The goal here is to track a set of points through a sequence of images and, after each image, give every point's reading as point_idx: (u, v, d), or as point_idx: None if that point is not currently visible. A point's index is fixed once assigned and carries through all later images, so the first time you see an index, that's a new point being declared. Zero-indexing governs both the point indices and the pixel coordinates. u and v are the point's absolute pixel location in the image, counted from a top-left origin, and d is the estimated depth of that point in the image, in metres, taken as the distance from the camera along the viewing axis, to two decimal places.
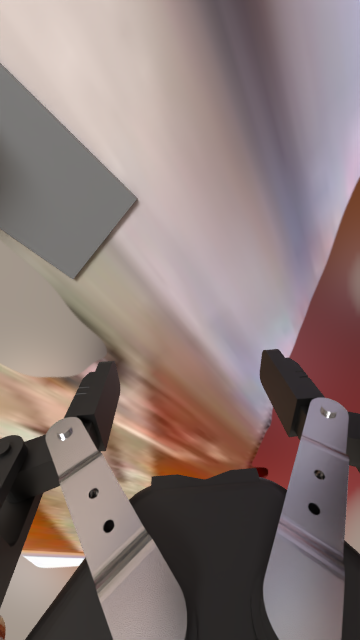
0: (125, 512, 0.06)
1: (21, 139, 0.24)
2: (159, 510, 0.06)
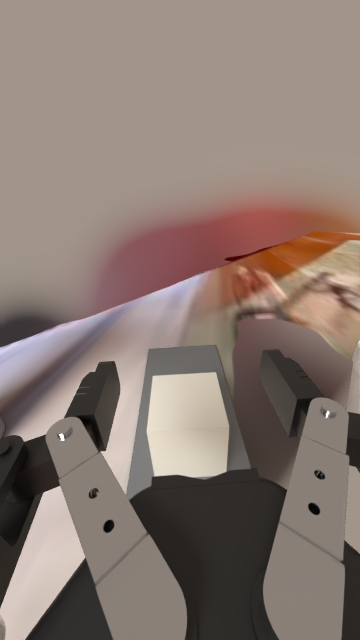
0: (125, 512, 0.06)
1: None
2: (159, 510, 0.06)
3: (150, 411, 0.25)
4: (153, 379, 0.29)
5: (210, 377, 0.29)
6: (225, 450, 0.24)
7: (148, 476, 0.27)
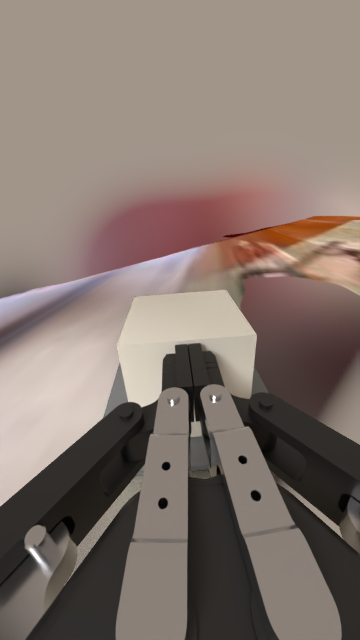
0: (179, 504, 0.06)
1: None
2: None
3: (126, 325, 0.15)
4: (135, 299, 0.20)
5: (218, 294, 0.20)
6: (248, 384, 0.15)
7: None
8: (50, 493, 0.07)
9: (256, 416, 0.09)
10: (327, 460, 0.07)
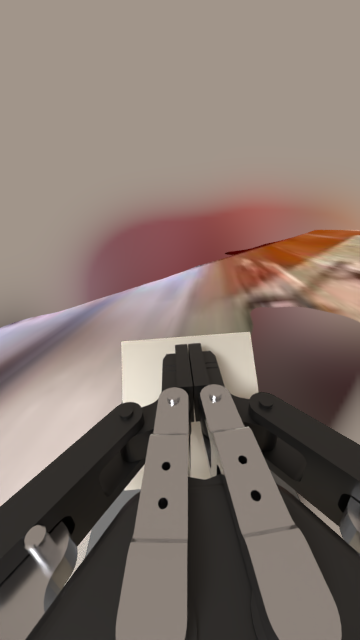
0: (179, 504, 0.06)
1: None
2: None
3: None
4: None
5: None
6: (254, 392, 0.14)
7: None
8: (50, 493, 0.07)
9: (256, 416, 0.09)
10: (327, 460, 0.07)
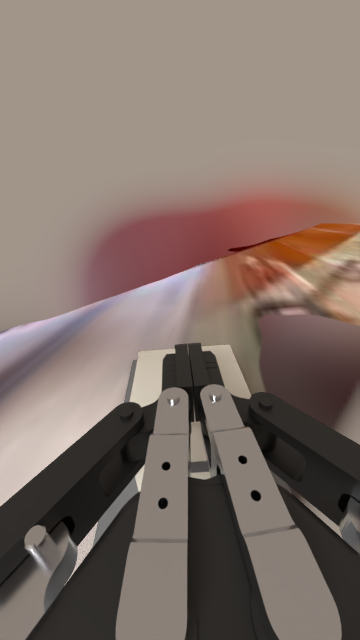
0: (180, 503, 0.06)
1: None
2: None
3: None
4: None
5: None
6: (237, 371, 0.18)
7: None
8: (50, 493, 0.07)
9: (256, 416, 0.09)
10: (327, 460, 0.07)
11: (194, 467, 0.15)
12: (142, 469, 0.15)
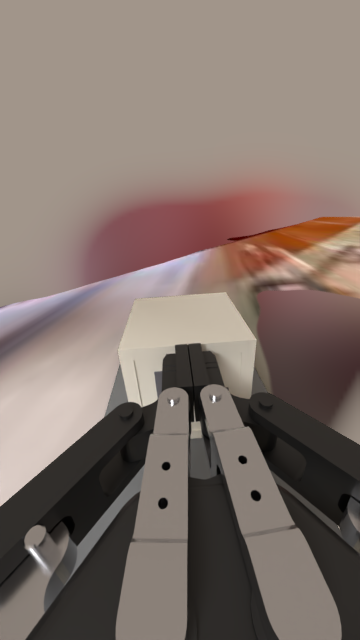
0: (180, 504, 0.06)
1: None
2: None
3: None
4: None
5: None
6: (233, 308, 0.18)
7: None
8: (50, 493, 0.07)
9: (256, 416, 0.09)
10: (327, 460, 0.07)
11: None
12: (136, 397, 0.15)
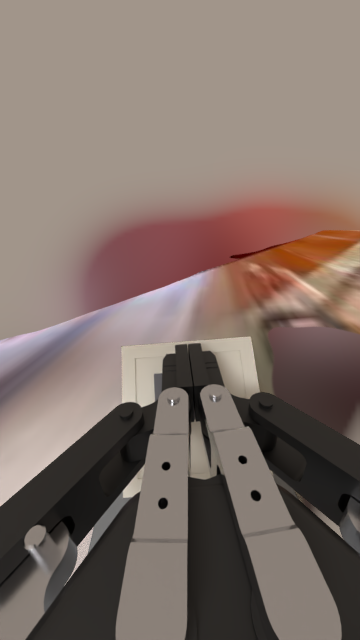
0: (180, 504, 0.06)
1: None
2: None
3: None
4: None
5: None
6: None
7: None
8: (50, 493, 0.07)
9: (256, 416, 0.09)
10: (327, 460, 0.07)
11: None
12: None
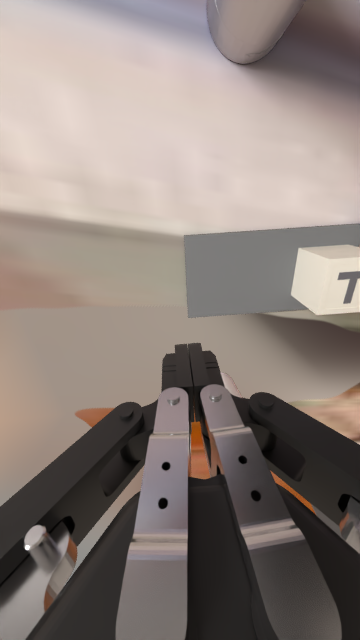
0: (180, 503, 0.06)
1: (286, 254, 0.38)
2: None
3: None
4: None
5: None
6: None
7: (200, 249, 0.37)
8: (50, 493, 0.07)
9: (256, 416, 0.09)
10: (327, 460, 0.07)
11: (352, 286, 0.32)
12: None
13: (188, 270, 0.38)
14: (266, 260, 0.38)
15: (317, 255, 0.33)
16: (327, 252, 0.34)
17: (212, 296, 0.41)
